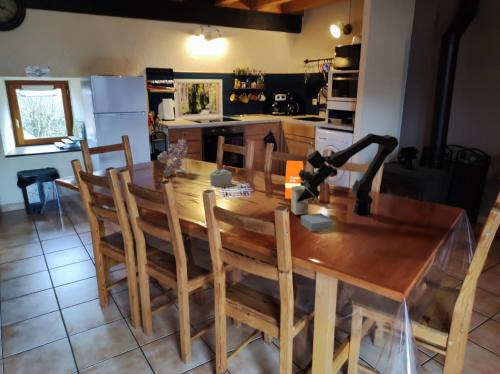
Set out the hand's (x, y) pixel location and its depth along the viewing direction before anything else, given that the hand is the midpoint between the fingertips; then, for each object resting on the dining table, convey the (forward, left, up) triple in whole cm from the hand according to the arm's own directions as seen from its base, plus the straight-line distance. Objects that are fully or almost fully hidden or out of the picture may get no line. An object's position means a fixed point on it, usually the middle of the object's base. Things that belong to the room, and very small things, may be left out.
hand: (296, 198), depth 172 cm
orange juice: (-9, -28, -8) cm, 30 cm away
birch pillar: (-1, 0, -7) cm, 7 cm away
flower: (+52, -98, -8) cm, 111 cm away
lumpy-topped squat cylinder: (+25, -65, -8) cm, 70 cm away
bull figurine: (-15, -16, -8) cm, 24 cm away
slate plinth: (-3, +15, -8) cm, 18 cm away
